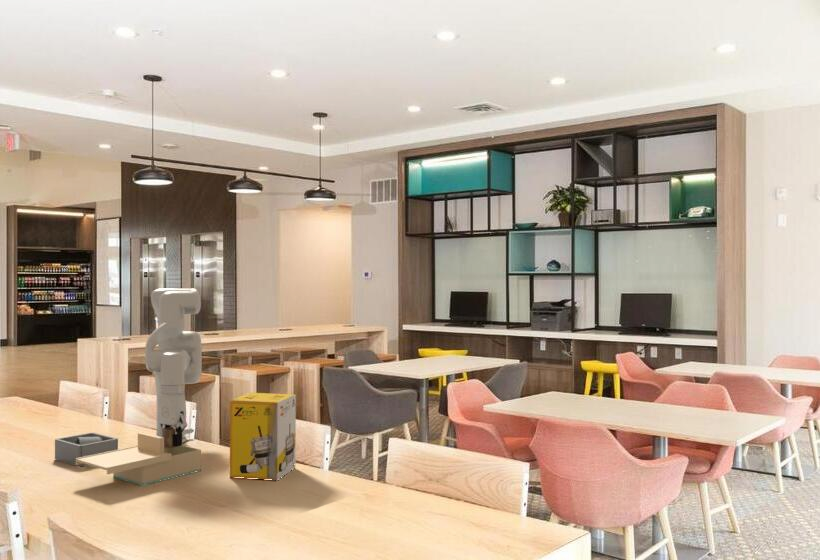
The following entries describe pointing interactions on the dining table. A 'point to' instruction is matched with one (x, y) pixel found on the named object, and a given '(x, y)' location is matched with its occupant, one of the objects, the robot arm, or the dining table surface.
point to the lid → (129, 455)
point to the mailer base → (165, 466)
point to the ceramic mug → (87, 440)
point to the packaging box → (262, 435)
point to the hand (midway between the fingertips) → (172, 444)
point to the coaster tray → (82, 447)
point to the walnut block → (168, 437)
